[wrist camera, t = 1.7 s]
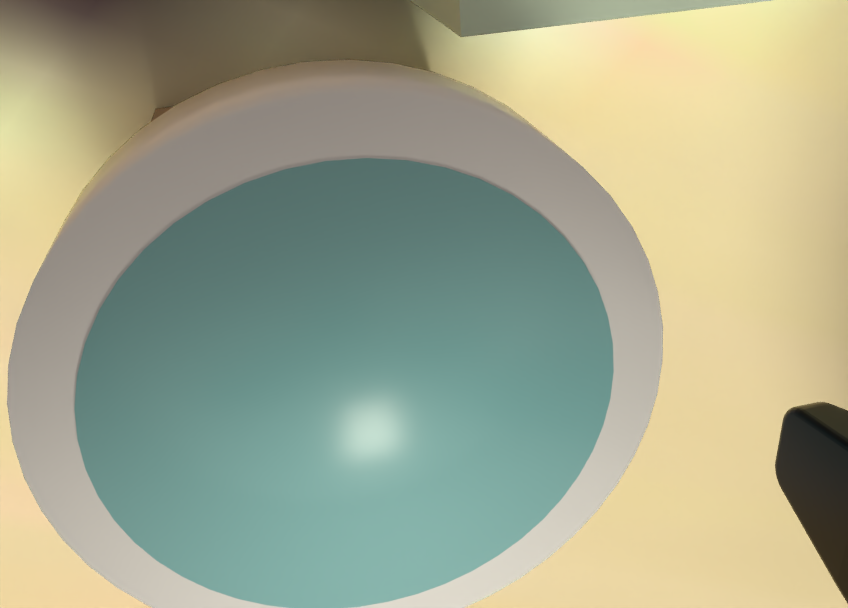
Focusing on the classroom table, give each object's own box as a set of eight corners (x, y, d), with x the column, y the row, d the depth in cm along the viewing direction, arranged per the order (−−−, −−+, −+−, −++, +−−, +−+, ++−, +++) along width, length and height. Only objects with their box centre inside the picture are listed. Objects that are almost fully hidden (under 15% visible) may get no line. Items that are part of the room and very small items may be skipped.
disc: (603, 504, 14) (645, 577, 12) (128, 604, 13) (113, 696, 11) (626, 23, 10) (691, 48, 8) (-58, 105, 9) (-116, 149, 7)
